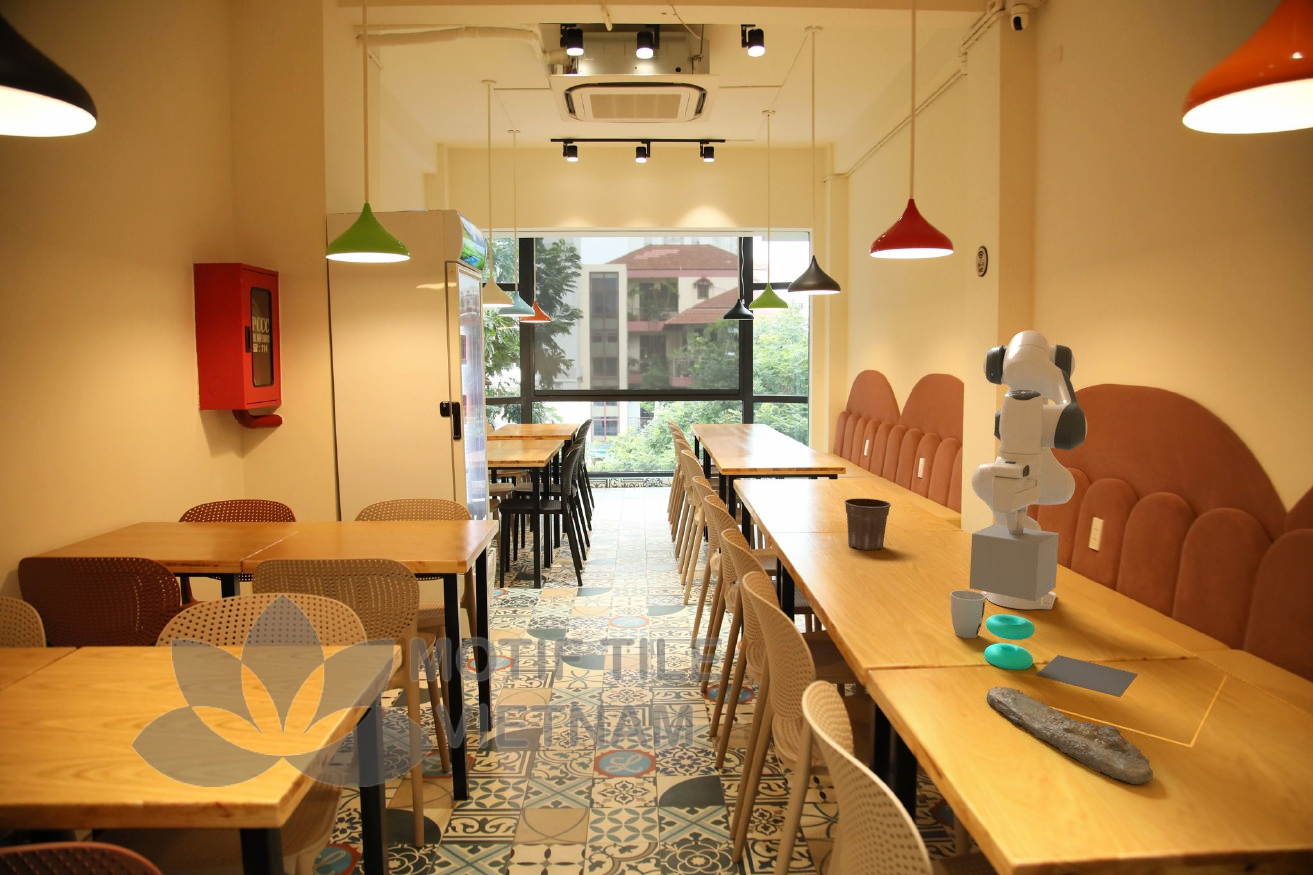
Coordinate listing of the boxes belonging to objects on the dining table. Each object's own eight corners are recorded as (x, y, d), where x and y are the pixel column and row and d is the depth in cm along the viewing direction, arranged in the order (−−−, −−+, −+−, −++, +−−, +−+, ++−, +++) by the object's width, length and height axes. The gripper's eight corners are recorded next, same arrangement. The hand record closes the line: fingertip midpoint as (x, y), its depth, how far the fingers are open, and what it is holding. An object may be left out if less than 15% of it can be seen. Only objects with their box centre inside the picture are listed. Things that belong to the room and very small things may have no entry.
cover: (992, 575, 187) (995, 502, 185) (1055, 587, 178) (1060, 510, 176) (969, 588, 177) (973, 511, 175) (1035, 601, 168) (1040, 520, 166)
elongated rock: (1013, 702, 163) (972, 711, 160) (1013, 677, 162) (971, 685, 159) (1171, 780, 129) (1123, 793, 126) (1171, 749, 129) (1123, 761, 126)
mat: (1057, 656, 183) (1057, 654, 183) (1137, 675, 173) (1137, 673, 173) (1035, 676, 172) (1035, 675, 172) (1119, 698, 161) (1119, 696, 161)
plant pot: (894, 552, 280) (896, 506, 279) (848, 551, 280) (850, 506, 279) (882, 541, 296) (884, 498, 295) (838, 541, 297) (839, 497, 295)
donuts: (1006, 610, 185) (1045, 623, 176) (1004, 652, 186) (1042, 667, 177) (976, 616, 180) (1014, 630, 172) (974, 659, 181) (1011, 675, 173)
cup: (986, 641, 193) (988, 601, 192) (951, 639, 194) (953, 598, 193) (980, 630, 201) (982, 591, 200) (946, 628, 202) (947, 589, 201)
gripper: (1020, 459, 184) (1016, 518, 186) (987, 468, 169) (984, 532, 171) (1049, 461, 180) (1045, 522, 182) (1018, 471, 165) (1015, 537, 167)
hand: (1015, 527), depth 176 cm, fingers closed on cover, 3 cm apart
